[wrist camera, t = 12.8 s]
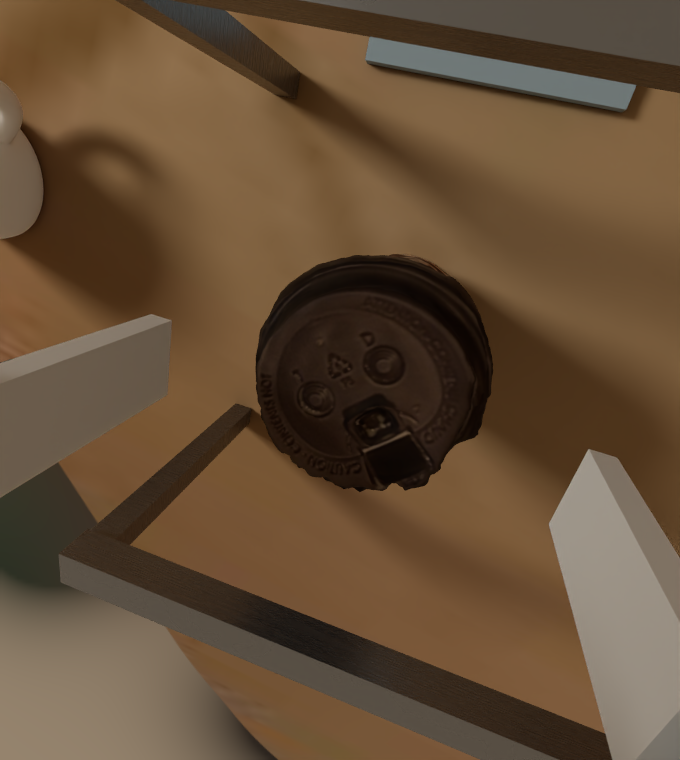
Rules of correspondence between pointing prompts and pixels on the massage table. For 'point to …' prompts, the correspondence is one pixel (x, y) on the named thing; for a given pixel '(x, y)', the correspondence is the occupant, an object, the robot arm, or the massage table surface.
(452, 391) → the coffee cup
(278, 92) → the frame
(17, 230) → the mug
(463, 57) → the mat
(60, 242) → the massage table surface
